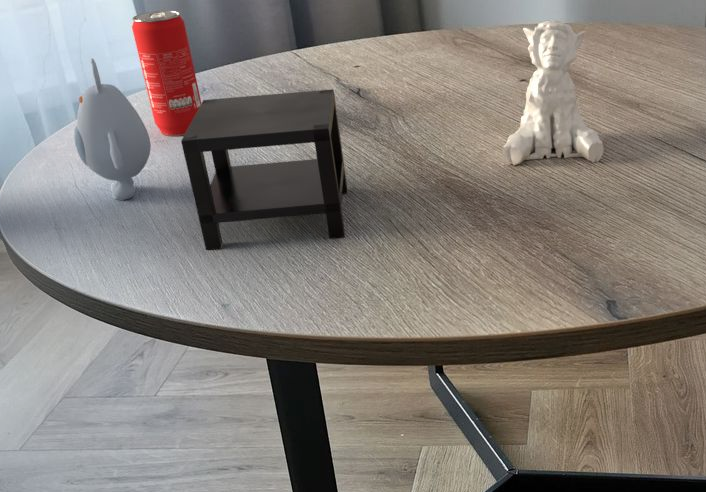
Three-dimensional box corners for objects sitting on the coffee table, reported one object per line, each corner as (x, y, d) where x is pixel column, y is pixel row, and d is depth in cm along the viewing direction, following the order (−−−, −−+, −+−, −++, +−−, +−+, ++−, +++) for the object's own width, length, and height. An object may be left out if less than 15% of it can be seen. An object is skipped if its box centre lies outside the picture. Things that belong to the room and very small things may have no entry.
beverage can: (155, 139, 102) (127, 23, 96) (158, 125, 106) (132, 13, 100) (205, 133, 103) (180, 17, 97) (206, 119, 107) (183, 8, 101)
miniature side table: (205, 250, 76) (180, 140, 72) (224, 199, 86) (203, 99, 81) (344, 237, 77) (328, 128, 72) (347, 188, 87) (333, 89, 82)
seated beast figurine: (502, 167, 89) (495, 35, 83) (502, 137, 96) (496, 14, 90) (604, 162, 89) (604, 29, 83) (596, 133, 96) (596, 9, 90)
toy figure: (89, 181, 92) (52, 53, 85) (156, 169, 94) (125, 44, 87) (93, 219, 83) (53, 81, 77) (167, 206, 85) (134, 70, 79)
